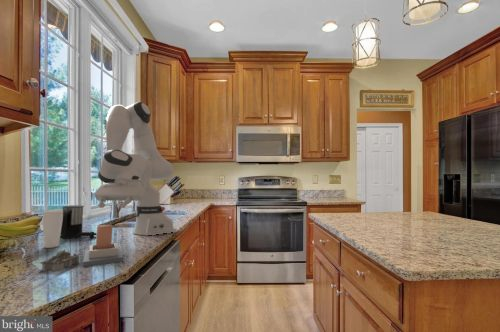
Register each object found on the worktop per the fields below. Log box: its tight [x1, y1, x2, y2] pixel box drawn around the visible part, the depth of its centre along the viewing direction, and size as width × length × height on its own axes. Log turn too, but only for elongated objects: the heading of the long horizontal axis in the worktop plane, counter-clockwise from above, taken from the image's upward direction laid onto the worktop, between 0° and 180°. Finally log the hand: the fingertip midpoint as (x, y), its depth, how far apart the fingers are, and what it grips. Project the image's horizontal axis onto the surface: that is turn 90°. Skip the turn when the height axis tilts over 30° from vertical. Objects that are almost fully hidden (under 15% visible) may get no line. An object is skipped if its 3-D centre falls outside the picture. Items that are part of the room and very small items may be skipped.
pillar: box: [95, 224, 113, 250], centre depth 99 cm, size 5×5×10 cm
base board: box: [82, 242, 124, 267], centre depth 99 cm, size 12×16×4 cm
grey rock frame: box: [39, 249, 82, 272], centre depth 90 cm, size 11×8×4 cm
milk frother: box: [60, 204, 97, 239], centre depth 130 cm, size 14×16×15 cm
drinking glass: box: [42, 209, 63, 249], centre depth 112 cm, size 7×7×15 cm
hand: (111, 206), depth 107 cm, fingers open, 8 cm apart
